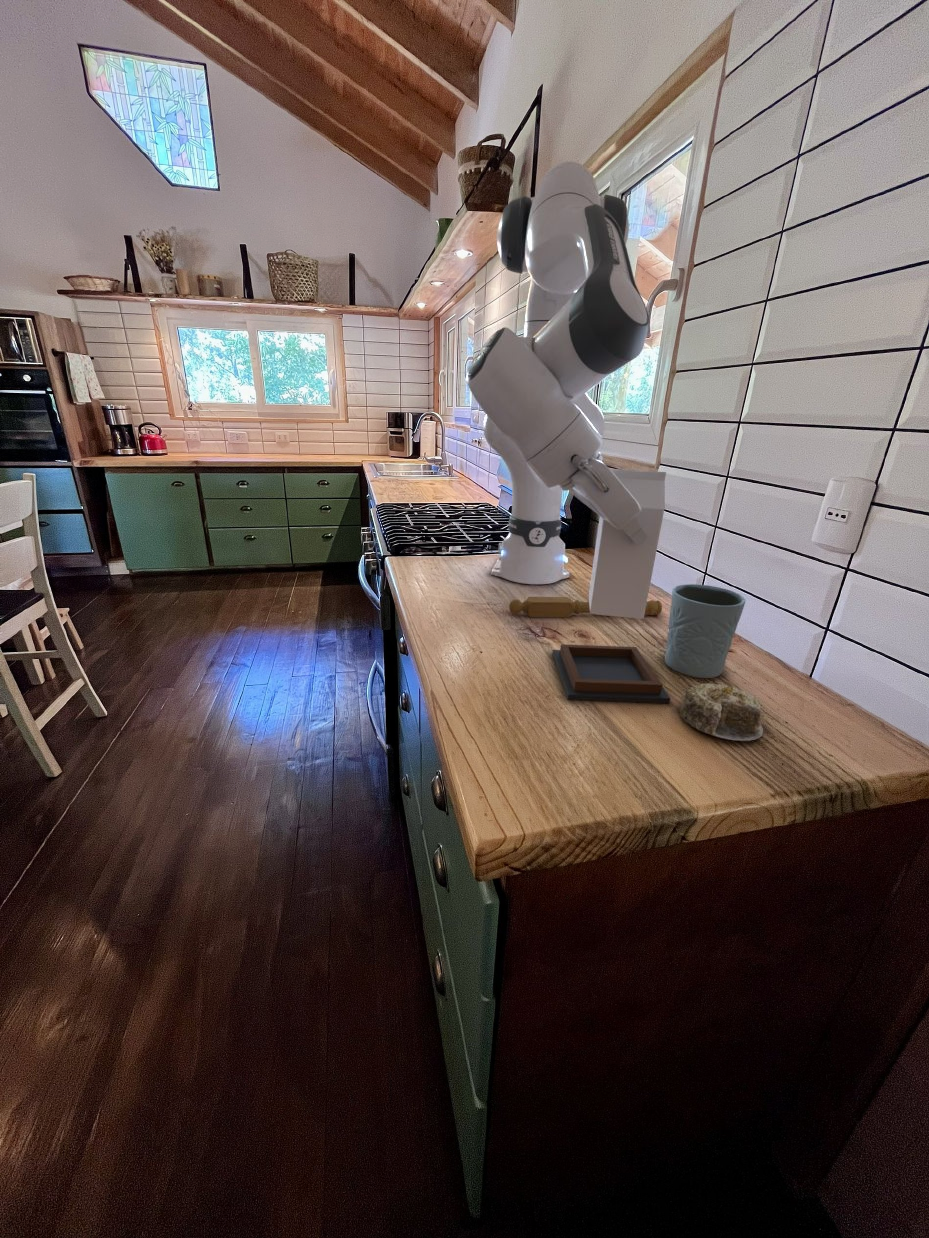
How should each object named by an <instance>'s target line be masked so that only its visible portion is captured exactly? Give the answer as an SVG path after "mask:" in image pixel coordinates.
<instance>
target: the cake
mask: <svg viewBox="0 0 929 1238" xmlns="http://www.w3.org/2000/svg"><path fill="white" fill-rule="evenodd" d="M678 713H679V715H680V717H681V718H682V720H684V721H685V722H686V723H687V724H689V725H690V726H691V727H692V728H694V729H696V730H697V731H700V732H702V733H704V734H707V735H710V736H713V737H716V738H719V739H724V740H729V741H736V742H737V741H738V742H740V741H741V742H750V741H754V740H755V741H756V740H758V739H760V738H761V737H763V734H764V728H763V724H762V720H763V717H764V711H763V704H761V701H760V700H759V699H758V698H757V697H756V696H754V695H751V694H750V693H749V692H745V691H743V690H740V689H738V688H736V687H733V686H728V685H725V684H720V683H719V684H718V683H716V684H713V683H700V684H695V685H694V686H691V687H690V686H689V687H687V688H686V689H685V691H684V703H682V704H681V705H680V706H679V708H678Z"/></svg>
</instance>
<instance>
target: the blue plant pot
mask: <svg viewBox="0 0 929 1238" xmlns="http://www.w3.org/2000/svg"><path fill="white" fill-rule="evenodd" d="M745 604H746V599H745V598H744V596H743V595H741V594H740V593H737V592H736V591H733V590H730V589H726V588H723V587H719V586H713V585H708V584H707V585H706V584H697V583H696V584H695V583H689V584H686V583H685V584H679V585H676V586H674V587H673V588H672V592H671V603H670V610H669V618H668V626H667V627H668V631H667V636H666V646H665V655H664V663H665V665H667V667H668V668H670V669H672V670H673V671H675V672H677V673H680V674H682V675H685V676H689V677H693V678H697V679H698V678H699V679H713V678H717V677H719V676H720V675H721V674H722V673H723V672H724V669H725V667H726V666H725V665H726V660H727V658H728V655H729V652H730V649H731V646H732V643H733V639H734V637H735V634H736V631H737V627H738V624H739V622H740V619H741V616H742V614H743V610H744V607H745Z"/></svg>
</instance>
